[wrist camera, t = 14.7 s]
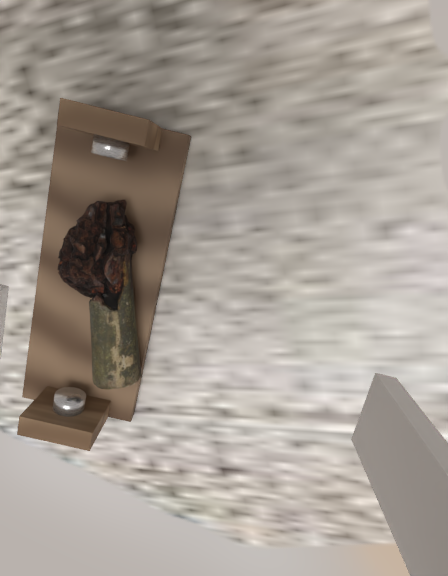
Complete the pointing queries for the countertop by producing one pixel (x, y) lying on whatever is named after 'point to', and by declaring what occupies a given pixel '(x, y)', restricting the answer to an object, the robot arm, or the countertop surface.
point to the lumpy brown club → (105, 289)
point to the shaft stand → (69, 302)
